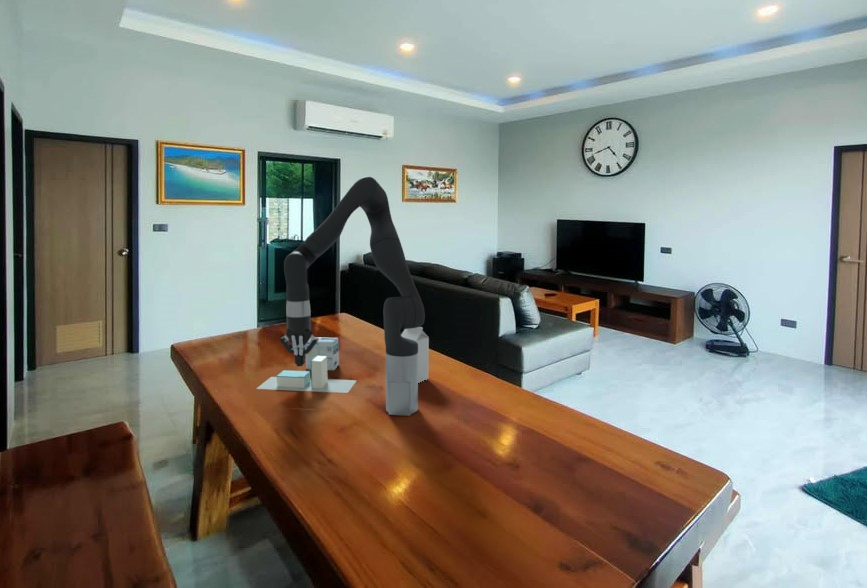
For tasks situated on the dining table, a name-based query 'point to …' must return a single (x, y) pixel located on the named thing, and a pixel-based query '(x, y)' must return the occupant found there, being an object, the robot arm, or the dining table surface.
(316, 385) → the block
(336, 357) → the light bulb box
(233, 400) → the dining table surface
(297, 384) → the tile
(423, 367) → the milk carton
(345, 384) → the runner
